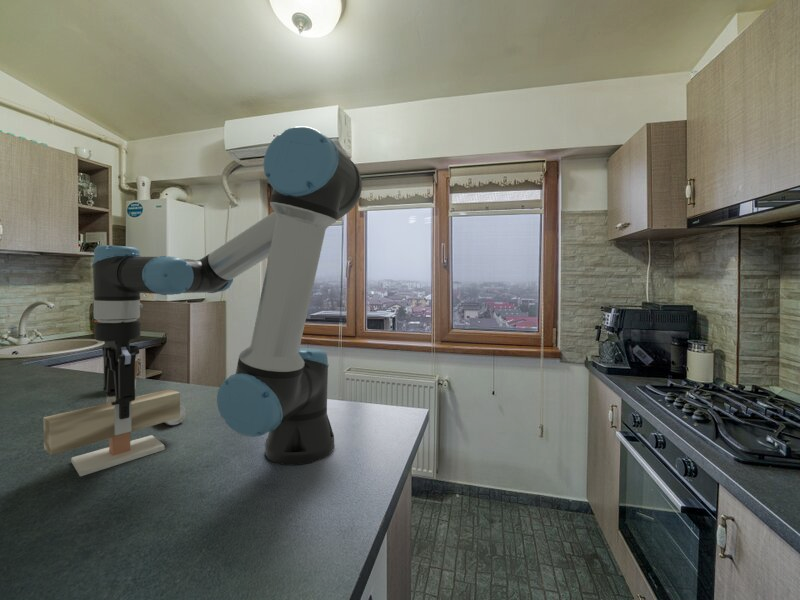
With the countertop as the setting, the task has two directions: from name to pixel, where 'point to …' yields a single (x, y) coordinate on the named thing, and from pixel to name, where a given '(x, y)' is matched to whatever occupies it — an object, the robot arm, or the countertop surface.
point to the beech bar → (106, 421)
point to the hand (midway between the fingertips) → (119, 428)
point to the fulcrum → (116, 453)
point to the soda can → (178, 420)
